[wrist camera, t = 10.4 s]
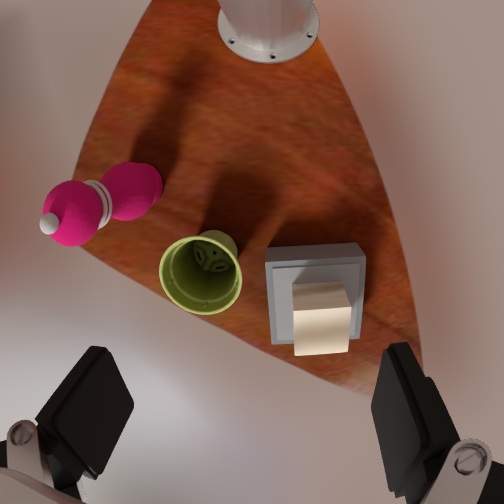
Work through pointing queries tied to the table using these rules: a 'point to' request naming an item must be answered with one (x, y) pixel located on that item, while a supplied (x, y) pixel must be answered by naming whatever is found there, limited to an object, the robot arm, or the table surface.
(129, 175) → the pepper mill
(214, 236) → the plant pot
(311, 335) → the birch block
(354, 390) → the table surface
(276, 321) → the slate stand
